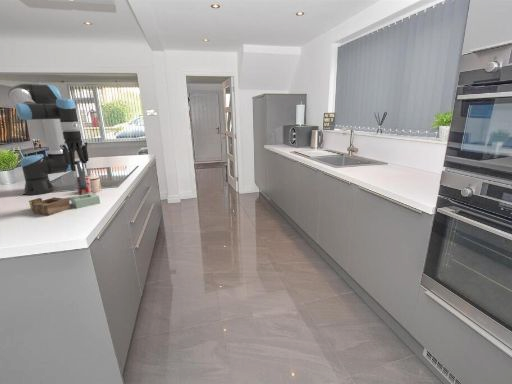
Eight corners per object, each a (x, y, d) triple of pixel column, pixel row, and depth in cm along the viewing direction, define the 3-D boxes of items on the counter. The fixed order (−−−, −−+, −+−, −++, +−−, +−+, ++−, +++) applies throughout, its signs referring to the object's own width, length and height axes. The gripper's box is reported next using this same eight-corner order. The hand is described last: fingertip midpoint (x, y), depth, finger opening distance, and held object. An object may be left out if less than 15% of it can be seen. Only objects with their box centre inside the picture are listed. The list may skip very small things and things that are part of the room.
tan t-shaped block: (30, 208, 139) (28, 200, 138) (41, 205, 144) (39, 198, 142) (42, 210, 136) (40, 202, 135) (52, 207, 141) (51, 199, 140)
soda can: (87, 199, 156) (82, 178, 153) (76, 198, 158) (72, 178, 154) (96, 195, 163) (92, 176, 160) (86, 195, 164) (82, 175, 161)
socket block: (33, 213, 134) (31, 203, 133) (55, 206, 144) (53, 197, 143) (49, 215, 131) (46, 205, 129) (70, 208, 141) (68, 199, 139)
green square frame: (71, 203, 148) (70, 196, 147) (94, 199, 155) (92, 192, 154) (77, 208, 140) (75, 201, 139) (100, 203, 148) (98, 196, 147)
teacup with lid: (104, 191, 172) (100, 173, 169) (87, 194, 166) (84, 175, 163) (98, 187, 180) (95, 170, 177) (83, 190, 174) (79, 172, 171)
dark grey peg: (78, 189, 145) (72, 161, 141) (86, 187, 148) (80, 160, 144) (80, 190, 143) (74, 162, 139) (88, 188, 145) (83, 161, 141)
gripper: (60, 131, 128) (70, 179, 135) (91, 129, 143) (99, 173, 150) (49, 131, 131) (59, 179, 137) (81, 129, 146) (89, 172, 152)
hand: (80, 175), depth 143 cm, fingers closed on dark grey peg, 4 cm apart
